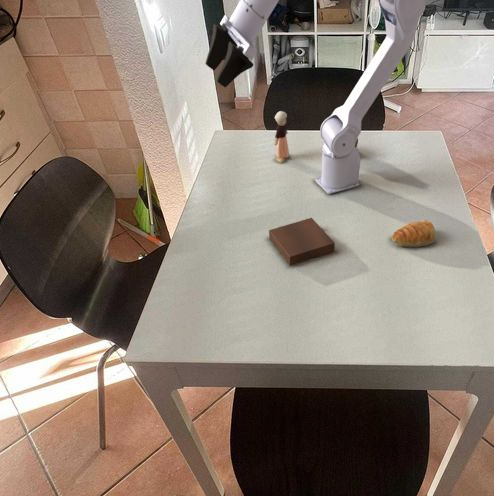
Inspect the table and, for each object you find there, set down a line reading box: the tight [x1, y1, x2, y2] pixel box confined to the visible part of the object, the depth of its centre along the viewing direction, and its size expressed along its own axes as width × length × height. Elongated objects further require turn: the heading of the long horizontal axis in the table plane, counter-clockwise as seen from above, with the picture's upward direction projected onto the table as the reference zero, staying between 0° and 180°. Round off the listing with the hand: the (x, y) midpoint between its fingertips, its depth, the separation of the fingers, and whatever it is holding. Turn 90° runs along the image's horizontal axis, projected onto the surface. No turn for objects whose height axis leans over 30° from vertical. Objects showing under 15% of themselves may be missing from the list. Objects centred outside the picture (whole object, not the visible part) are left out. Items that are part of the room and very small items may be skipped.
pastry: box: [391, 219, 437, 248], centre depth 96 cm, size 9×7×4 cm
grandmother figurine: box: [273, 110, 290, 163], centre depth 119 cm, size 8×4×13 cm, turn 168°
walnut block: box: [268, 217, 336, 267], centre depth 96 cm, size 11×11×2 cm
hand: (215, 75), depth 88 cm, fingers open, 7 cm apart
